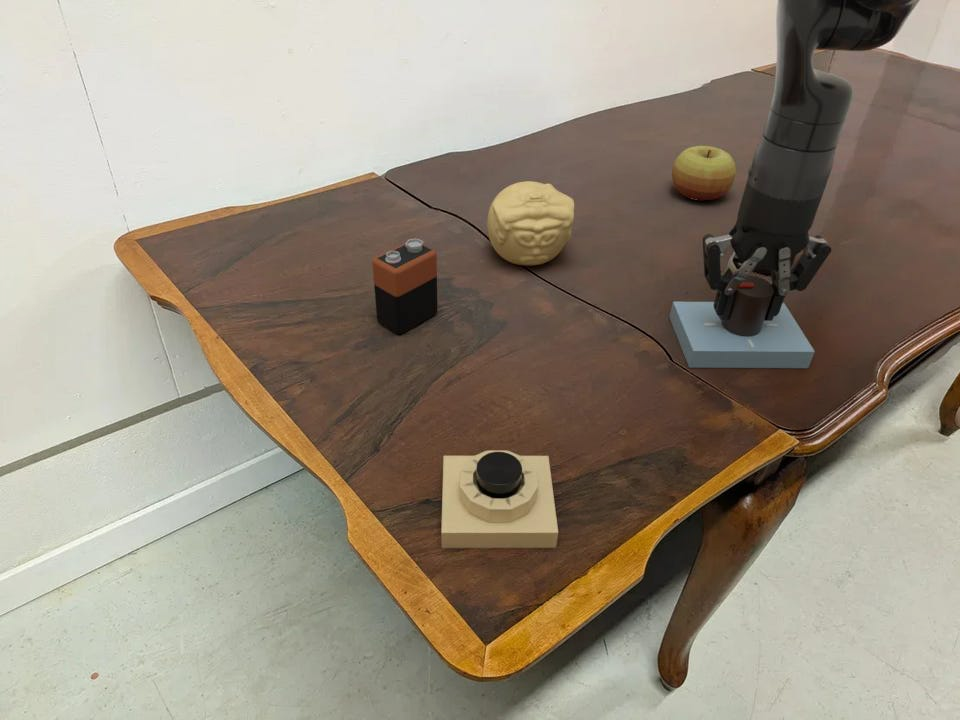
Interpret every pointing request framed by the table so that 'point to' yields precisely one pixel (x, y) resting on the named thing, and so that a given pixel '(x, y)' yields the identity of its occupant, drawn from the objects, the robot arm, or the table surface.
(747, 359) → the panel
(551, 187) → the sculpture
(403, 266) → the battery
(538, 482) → the button box
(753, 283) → the knob
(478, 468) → the button
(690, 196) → the apple
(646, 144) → the table surface
